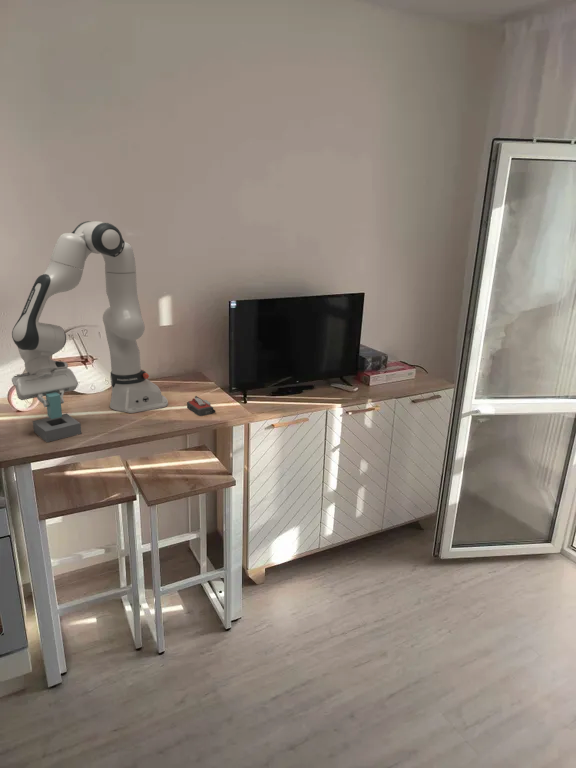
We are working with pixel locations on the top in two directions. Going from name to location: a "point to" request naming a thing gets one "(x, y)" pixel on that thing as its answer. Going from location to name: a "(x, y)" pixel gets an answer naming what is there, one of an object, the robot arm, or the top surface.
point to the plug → (54, 405)
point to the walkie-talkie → (200, 406)
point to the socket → (56, 427)
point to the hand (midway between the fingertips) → (54, 404)
